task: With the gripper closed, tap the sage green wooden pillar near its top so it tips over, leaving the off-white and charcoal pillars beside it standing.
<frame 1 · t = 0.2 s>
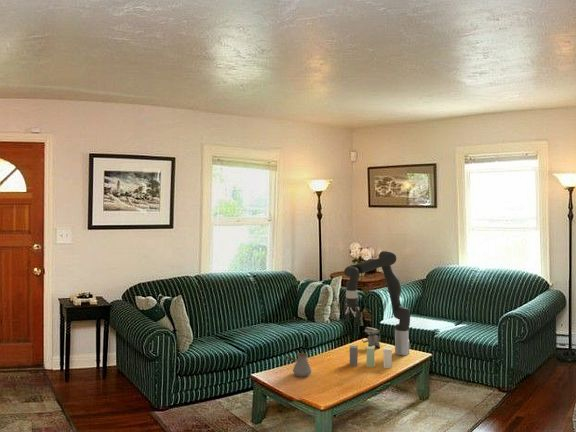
hand: (351, 320, 334), 28 cm above the table, tool pointing down, fingers open, 8 cm apart
figurine: (371, 348, 369), on the table
off white pillar: (387, 366, 330), on the table
coffee pot: (297, 377, 310), on the table
sage green pillar: (370, 365, 331), on the table
charcoal pillar: (353, 364, 333), on the table
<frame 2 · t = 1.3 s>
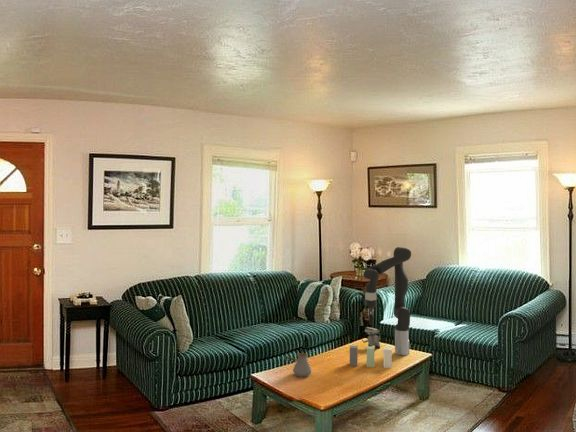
hand: (370, 323, 340), 25 cm above the table, tool pointing down, fingers open, 3 cm apart
nothing on the table moved.
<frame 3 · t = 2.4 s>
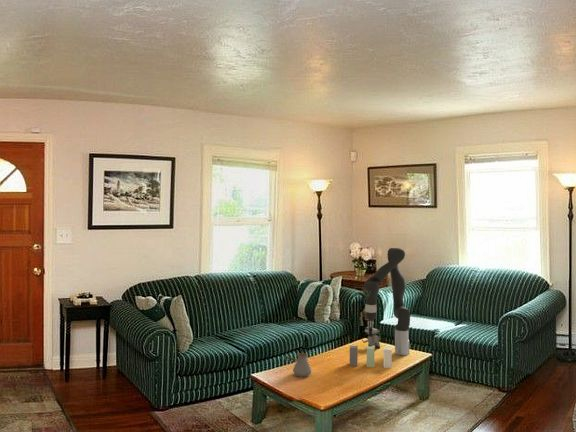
hand: (370, 336, 340), 17 cm above the table, tool pointing down, fingers closed
nothing on the table moved.
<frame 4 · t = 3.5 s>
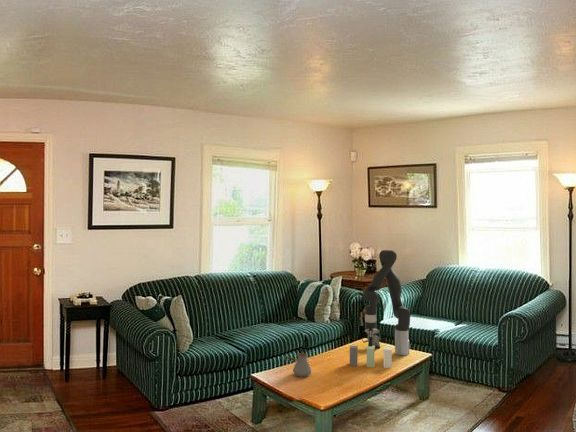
hand: (370, 346, 341), 10 cm above the table, tool pointing down, fingers closed
nothing on the table moved.
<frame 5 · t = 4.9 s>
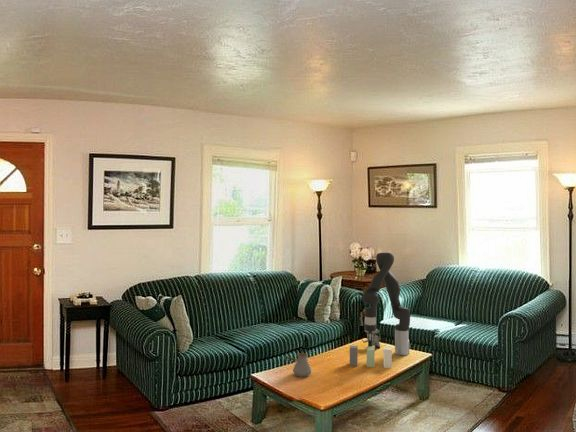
hand: (369, 349, 333), 10 cm above the table, tool pointing down, fingers closed
sage green pillar: (370, 364, 331), on the table, tilted 11°
everything else where it was.
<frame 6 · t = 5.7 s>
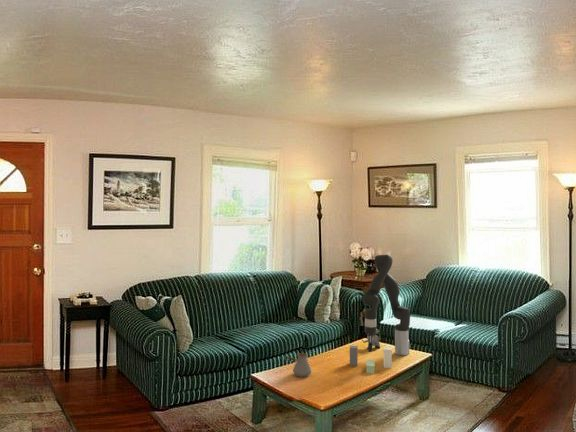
hand: (370, 351, 328), 10 cm above the table, tool pointing down, fingers closed
sage green pillar: (370, 363, 329), point 2 cm above the table, tilted 90°
everything else where it was.
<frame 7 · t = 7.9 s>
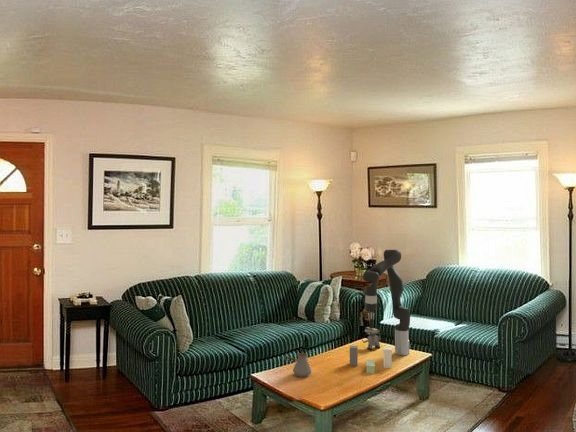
hand: (371, 328, 328), 25 cm above the table, tool pointing down, fingers closed
nothing on the table moved.
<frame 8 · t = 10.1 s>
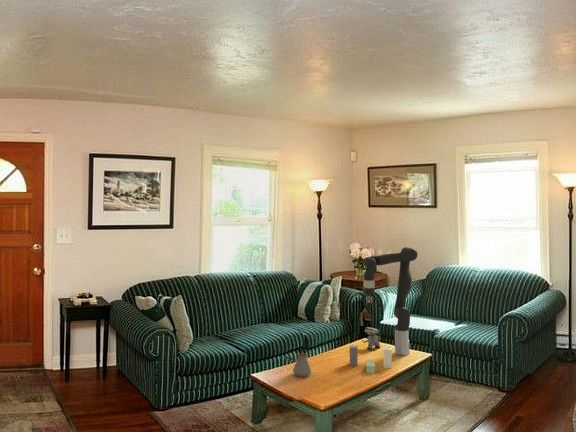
hand: (368, 311, 346), 32 cm above the table, tool pointing down, fingers closed
nothing on the table moved.
at the end: sage green pillar tilted 90°; off white pillar tilted 0°; charcoal pillar tilted 0° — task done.
